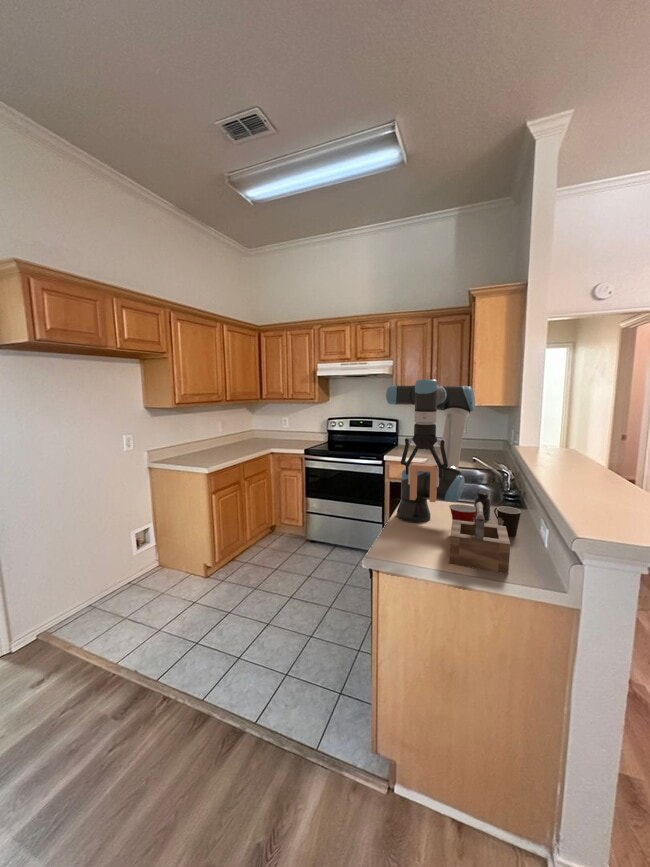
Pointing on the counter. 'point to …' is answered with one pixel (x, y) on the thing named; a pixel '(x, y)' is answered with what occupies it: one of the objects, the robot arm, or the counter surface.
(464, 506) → the plastic cup
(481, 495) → the supplement bottle
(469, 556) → the open wooden box
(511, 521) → the coffee mug
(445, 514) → the counter surface
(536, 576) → the counter surface
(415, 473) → the block
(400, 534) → the counter surface
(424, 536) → the counter surface
